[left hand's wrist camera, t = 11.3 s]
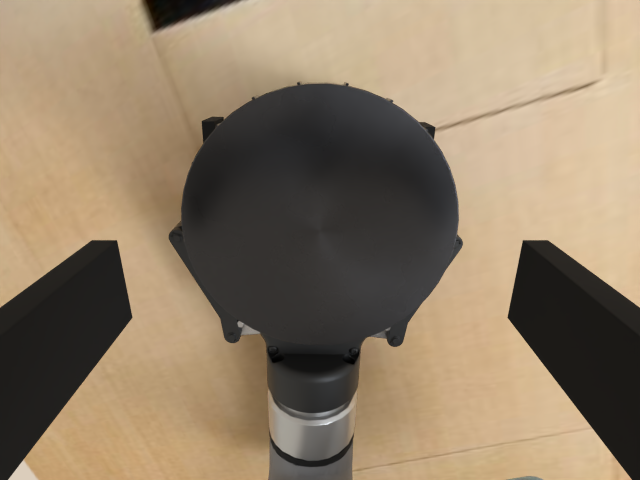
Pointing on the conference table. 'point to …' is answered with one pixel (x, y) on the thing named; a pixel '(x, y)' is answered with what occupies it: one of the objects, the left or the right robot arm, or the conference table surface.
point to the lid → (319, 214)
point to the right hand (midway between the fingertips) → (318, 120)
